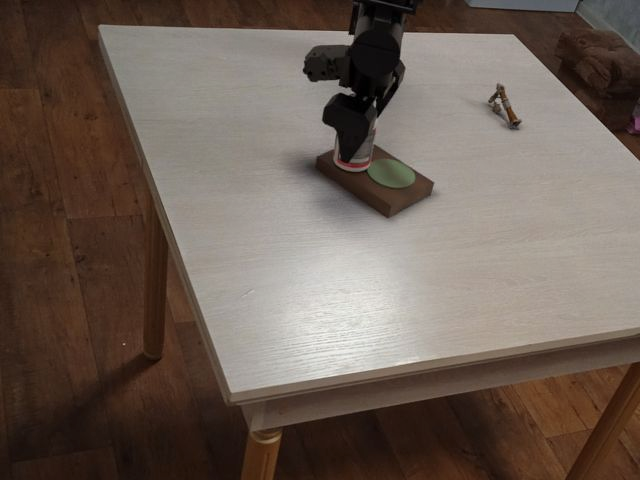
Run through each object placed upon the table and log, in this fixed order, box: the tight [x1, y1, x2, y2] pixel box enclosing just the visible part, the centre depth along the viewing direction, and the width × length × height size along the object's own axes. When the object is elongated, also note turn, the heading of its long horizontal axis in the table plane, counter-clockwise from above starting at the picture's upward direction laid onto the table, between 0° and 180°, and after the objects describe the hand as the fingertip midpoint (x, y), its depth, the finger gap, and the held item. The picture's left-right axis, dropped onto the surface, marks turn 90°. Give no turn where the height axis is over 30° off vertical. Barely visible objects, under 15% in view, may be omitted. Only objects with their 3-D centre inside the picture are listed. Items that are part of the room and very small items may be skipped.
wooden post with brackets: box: [487, 82, 523, 129], centre depth 140 cm, size 2×8×4 cm, turn 30°
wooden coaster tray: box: [314, 143, 435, 218], centre depth 118 cm, size 10×14×2 cm
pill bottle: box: [333, 92, 379, 172], centre depth 114 cm, size 5×5×10 cm
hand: (354, 146), depth 116 cm, fingers open, 9 cm apart
